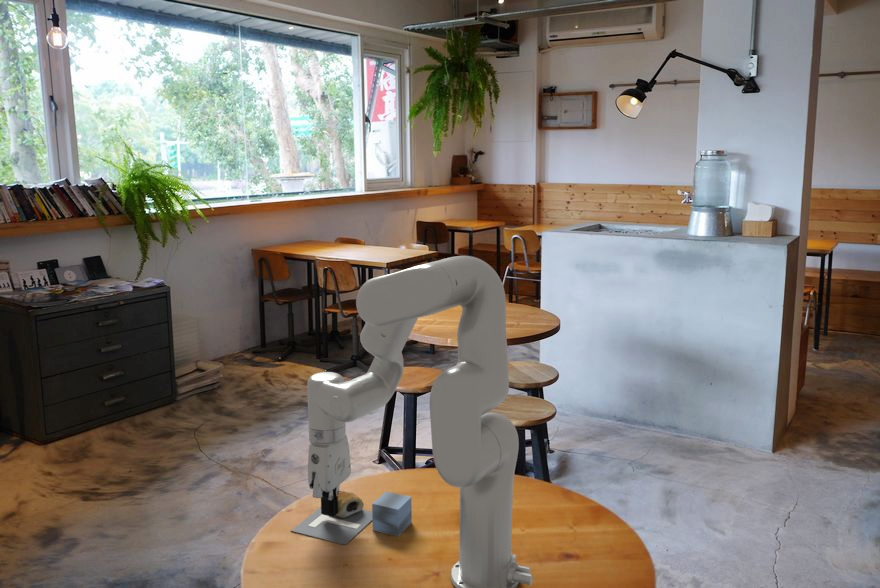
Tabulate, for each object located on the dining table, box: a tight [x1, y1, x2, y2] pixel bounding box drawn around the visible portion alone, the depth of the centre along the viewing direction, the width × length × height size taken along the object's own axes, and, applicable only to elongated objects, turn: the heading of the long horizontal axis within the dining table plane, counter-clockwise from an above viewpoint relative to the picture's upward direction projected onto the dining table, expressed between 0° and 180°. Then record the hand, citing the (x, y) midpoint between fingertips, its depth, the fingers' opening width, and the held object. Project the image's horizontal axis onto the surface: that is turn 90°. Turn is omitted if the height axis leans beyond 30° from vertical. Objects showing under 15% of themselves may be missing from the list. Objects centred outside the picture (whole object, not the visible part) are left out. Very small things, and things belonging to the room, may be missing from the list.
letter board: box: [290, 506, 373, 546], centre depth 161 cm, size 13×14×1 cm
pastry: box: [336, 490, 364, 518], centre depth 166 cm, size 9×7×4 cm
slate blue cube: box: [371, 491, 413, 537], centre depth 159 cm, size 6×6×6 cm
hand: (329, 513), depth 161 cm, fingers closed
